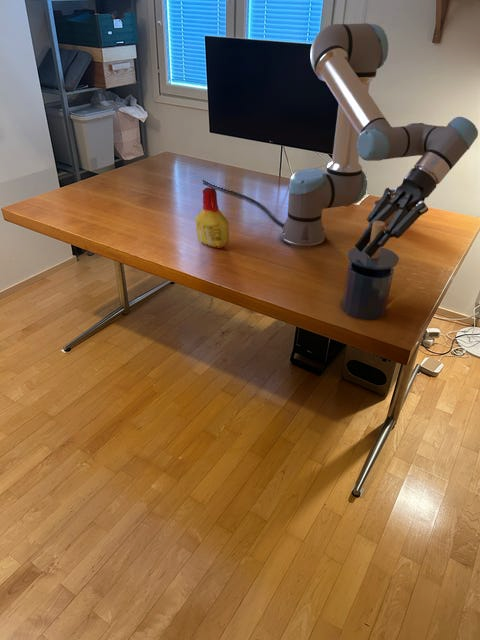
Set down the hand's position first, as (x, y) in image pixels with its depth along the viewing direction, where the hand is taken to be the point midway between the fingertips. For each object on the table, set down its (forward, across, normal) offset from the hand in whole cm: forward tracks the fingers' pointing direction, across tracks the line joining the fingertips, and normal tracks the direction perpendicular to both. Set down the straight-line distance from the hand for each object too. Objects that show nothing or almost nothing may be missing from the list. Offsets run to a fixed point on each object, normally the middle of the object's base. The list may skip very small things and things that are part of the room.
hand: (362, 251), depth 120 cm
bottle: (+24, +56, -2) cm, 61 cm away
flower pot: (-24, +44, -49) cm, 70 cm away
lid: (-1, 0, -5) cm, 5 cm away
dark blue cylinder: (+10, 0, -15) cm, 18 cm away
